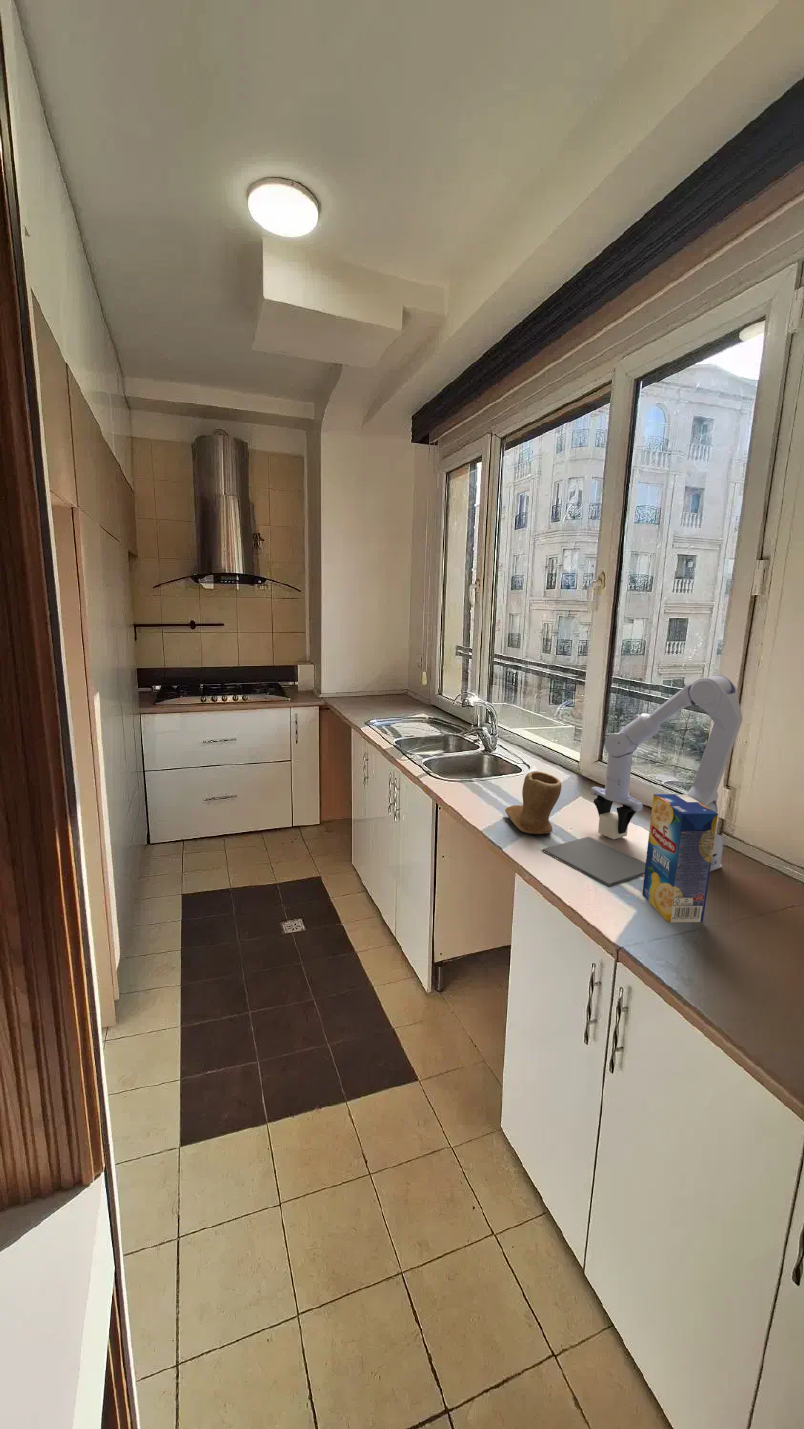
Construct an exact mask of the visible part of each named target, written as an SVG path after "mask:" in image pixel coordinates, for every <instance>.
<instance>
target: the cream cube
mask: <svg viewBox="0 0 804 1429" xmlns="http://www.w3.org/2000/svg"><path fill="white" fill-rule="evenodd" d="M598 817H599V816H598ZM598 819H599V820H598V830H597V833H598V834H600V835H602V836H605V837H606V838H607V837H608V838H609V839H611V840H616V839H620V838H623V837H627V836H628V830H629V829H628V828H629V827H627V829H626V832H625V833H622V834H619V833H618V813H617V811H610V812H608V813H604V814H600V817H599V818H598Z"/></svg>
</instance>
